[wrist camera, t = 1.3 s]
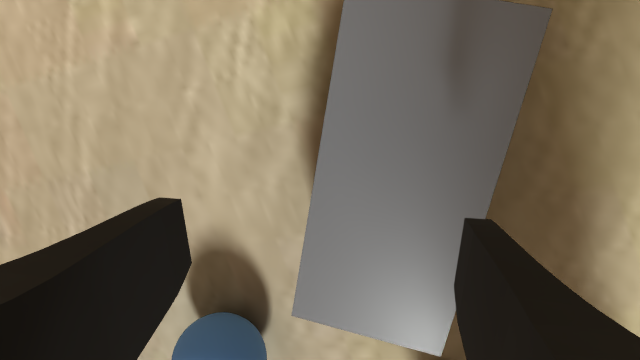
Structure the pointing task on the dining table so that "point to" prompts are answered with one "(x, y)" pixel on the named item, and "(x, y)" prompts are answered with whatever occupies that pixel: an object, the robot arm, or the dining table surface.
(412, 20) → the grey rectangular block
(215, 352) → the ball
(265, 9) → the dining table surface
